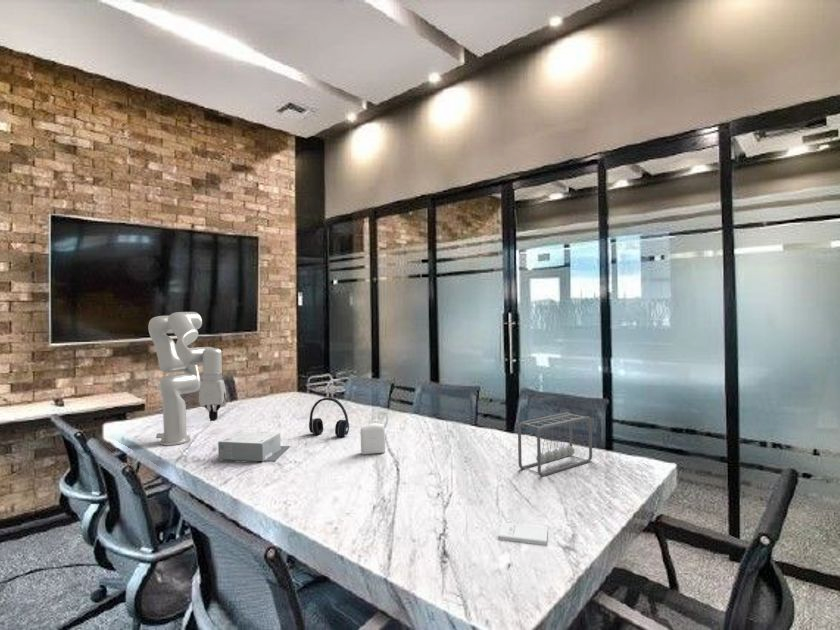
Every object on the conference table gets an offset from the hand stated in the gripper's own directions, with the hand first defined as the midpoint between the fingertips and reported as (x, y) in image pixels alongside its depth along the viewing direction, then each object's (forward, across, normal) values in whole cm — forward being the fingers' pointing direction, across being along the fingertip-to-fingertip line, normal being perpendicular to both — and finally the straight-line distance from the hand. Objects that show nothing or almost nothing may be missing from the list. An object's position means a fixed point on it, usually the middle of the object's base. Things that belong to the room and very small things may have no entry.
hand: (213, 420), depth 201 cm
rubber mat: (+14, +19, 0) cm, 24 cm away
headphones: (+15, +43, +28) cm, 53 cm away
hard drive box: (+10, +7, -1) cm, 12 cm away
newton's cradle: (+13, +140, -19) cm, 142 cm away
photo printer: (+14, +68, 0) cm, 70 cm away
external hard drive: (+14, +118, -73) cm, 139 cm away
